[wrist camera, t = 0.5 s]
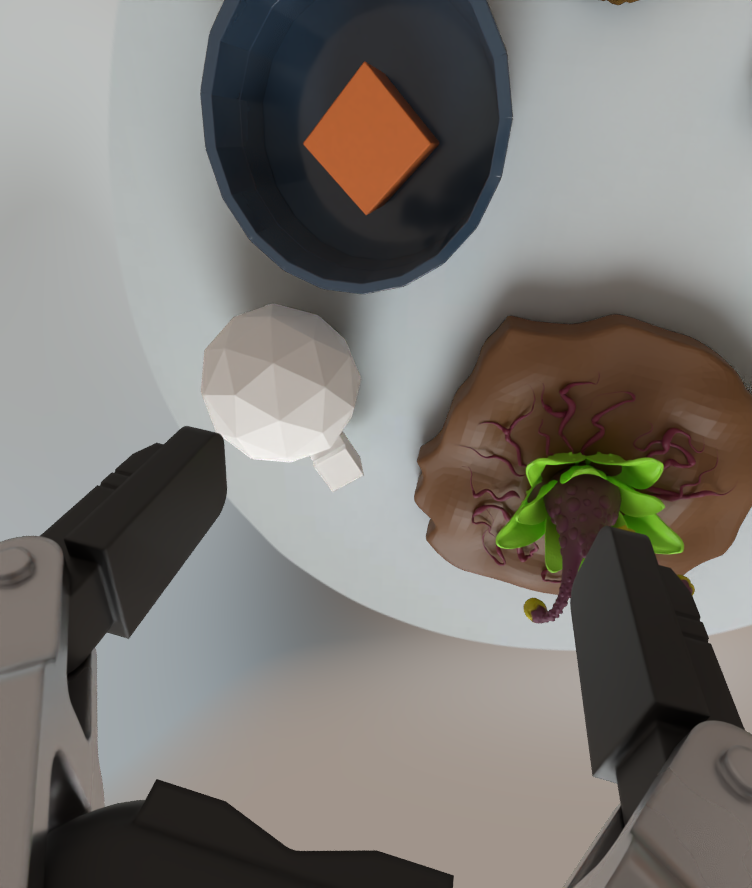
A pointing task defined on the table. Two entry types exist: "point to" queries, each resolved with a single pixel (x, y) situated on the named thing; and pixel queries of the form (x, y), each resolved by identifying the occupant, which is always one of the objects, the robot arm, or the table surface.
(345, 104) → the block
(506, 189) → the table surface
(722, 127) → the table surface
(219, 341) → the perfume bottle
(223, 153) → the bowl
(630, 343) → the plant
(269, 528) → the table surface
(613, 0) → the fruit
